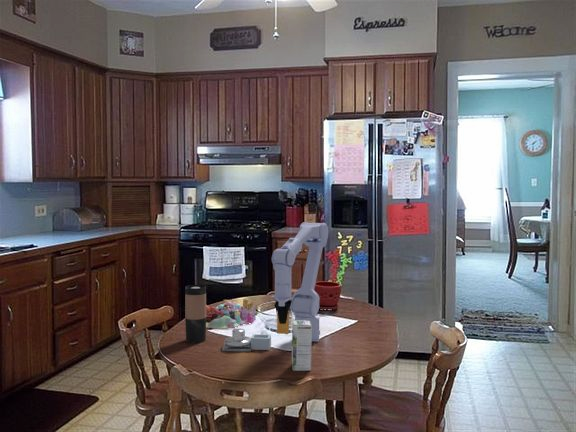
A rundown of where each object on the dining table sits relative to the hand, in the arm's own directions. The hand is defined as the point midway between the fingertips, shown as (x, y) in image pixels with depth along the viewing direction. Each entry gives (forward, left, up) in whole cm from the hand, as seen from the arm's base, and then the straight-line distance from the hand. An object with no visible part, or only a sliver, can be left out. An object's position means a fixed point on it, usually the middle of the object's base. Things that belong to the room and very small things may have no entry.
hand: (283, 322), depth 181 cm
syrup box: (-7, +17, -10) cm, 21 cm away
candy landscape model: (+27, -38, -10) cm, 47 cm away
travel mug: (+33, -10, -10) cm, 36 cm away
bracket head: (+8, -7, -10) cm, 15 cm away
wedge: (0, 0, -4) cm, 4 cm away
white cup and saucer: (+16, -3, -10) cm, 19 cm away
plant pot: (-16, -64, -10) cm, 67 cm away
